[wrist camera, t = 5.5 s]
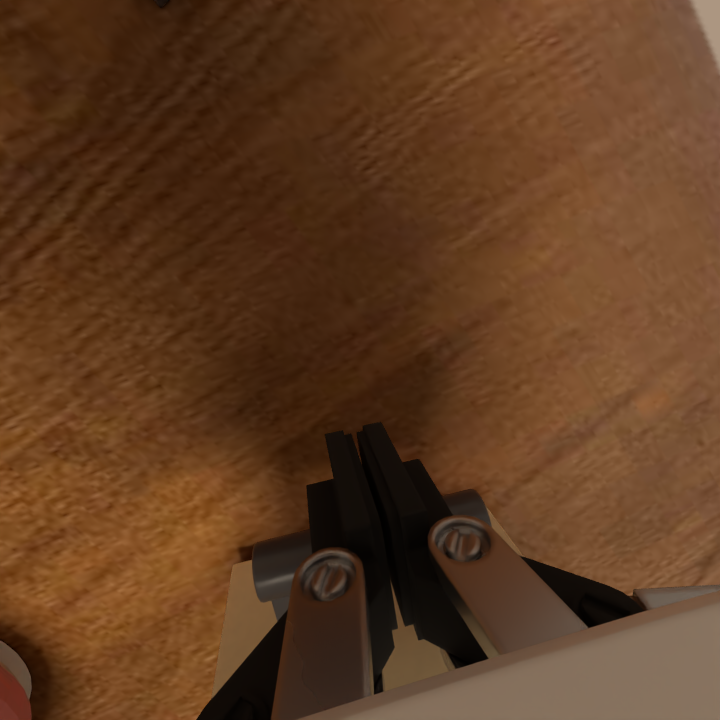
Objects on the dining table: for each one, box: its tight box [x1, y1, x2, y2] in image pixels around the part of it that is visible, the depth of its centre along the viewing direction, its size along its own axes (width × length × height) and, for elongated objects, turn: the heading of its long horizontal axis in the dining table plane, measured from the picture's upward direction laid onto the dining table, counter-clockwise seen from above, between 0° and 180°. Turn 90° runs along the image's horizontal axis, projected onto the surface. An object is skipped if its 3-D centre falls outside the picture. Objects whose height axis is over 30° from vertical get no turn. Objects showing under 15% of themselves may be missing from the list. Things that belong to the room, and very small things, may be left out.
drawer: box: [211, 489, 524, 699], centre depth 15 cm, size 18×11×7 cm, turn 8°
